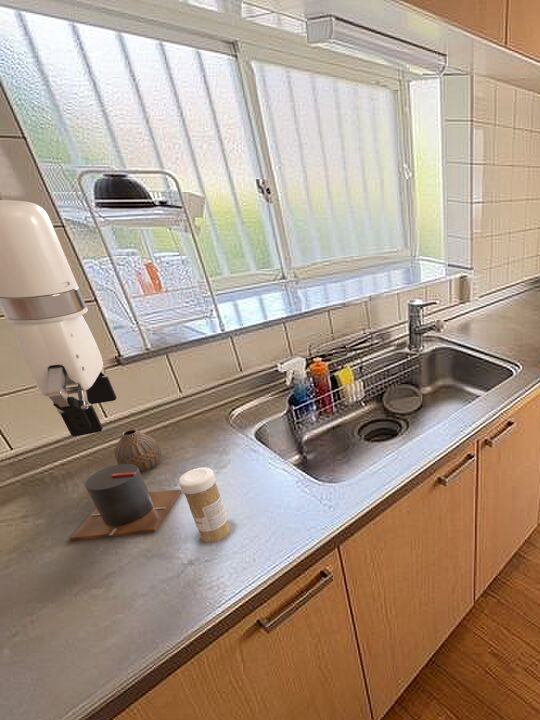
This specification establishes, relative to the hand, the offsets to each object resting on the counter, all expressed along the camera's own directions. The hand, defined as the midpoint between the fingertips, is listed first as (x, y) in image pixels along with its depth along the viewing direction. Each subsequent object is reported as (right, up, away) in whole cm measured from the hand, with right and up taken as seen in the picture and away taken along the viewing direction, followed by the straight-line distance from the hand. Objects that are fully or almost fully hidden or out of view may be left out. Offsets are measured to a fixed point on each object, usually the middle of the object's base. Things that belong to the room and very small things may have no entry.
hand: (96, 416), depth 62 cm
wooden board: (-6, -19, +13) cm, 24 cm away
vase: (-15, -13, +25) cm, 32 cm away
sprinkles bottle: (+11, -22, +11) cm, 27 cm away
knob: (-6, -18, +12) cm, 23 cm away
